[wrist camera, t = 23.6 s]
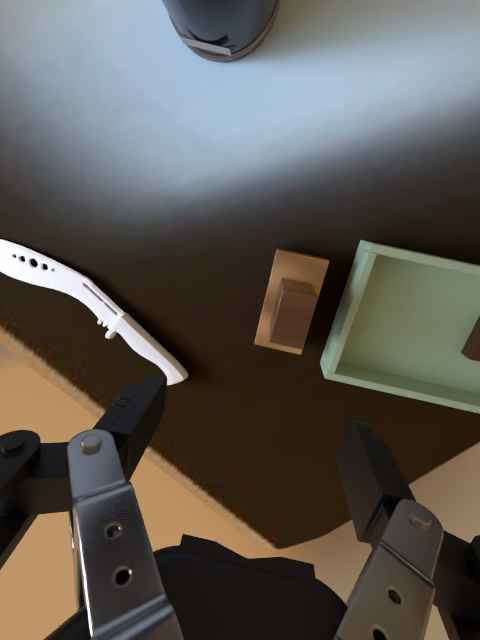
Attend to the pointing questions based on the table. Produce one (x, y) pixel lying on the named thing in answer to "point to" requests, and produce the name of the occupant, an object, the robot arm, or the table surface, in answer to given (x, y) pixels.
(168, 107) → the table surface
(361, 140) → the table surface
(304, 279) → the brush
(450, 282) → the tray
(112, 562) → the robot arm
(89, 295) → the knife
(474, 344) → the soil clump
